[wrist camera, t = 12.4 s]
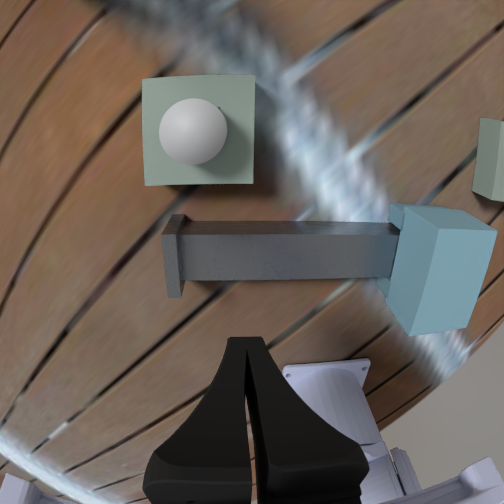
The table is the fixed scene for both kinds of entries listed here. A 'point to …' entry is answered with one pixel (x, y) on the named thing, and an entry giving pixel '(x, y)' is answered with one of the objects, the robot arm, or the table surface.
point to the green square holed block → (490, 160)
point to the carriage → (436, 267)
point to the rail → (275, 250)
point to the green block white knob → (198, 129)
